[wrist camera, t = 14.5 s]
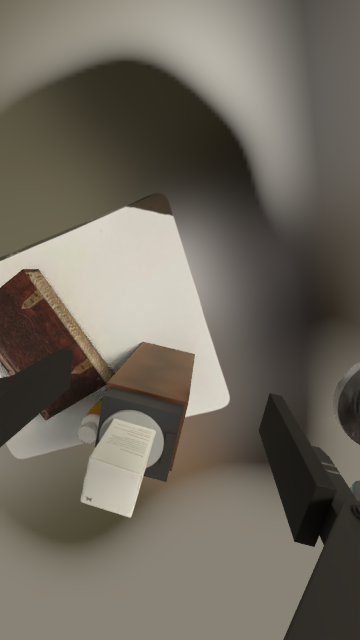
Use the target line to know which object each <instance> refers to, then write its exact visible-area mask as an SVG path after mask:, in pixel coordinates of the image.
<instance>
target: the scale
mask: <svg viewBox="0 0 360 640" xmlns="http://www.w3.org/2000/svg"><path fill="white" fill-rule="evenodd" d="M183 408H184V405H181V404H178V403H174V402H170V401H166V400H162V399H158V398H154V397H150V396H146V395H142V394H138V393H134V392H130V391H126V390H122V389H118V388H114V387H109V389H108V390H107V391H106V392H105V393H104V395H103V399H102V405H101V412H100V418H99V425H98V432H97V438H96V445H95V448H96V446H97V444H98V443H99V441H100V440H101V438H102V437H103V435H104V433H105V432H106V430H107V429H108V427H109V425H110V424H111V422H112V420H113V419H114V418H115V419H119V420H122V421H126V422H129V423H132V424H135V425H139V426H142V427H146V428H149V429H153V430H155V431H156V434H155V437H154V440H153V443H152V447H151V450H150V454H149V457H148V461H147V465H146V469H145V472H144V475H143V476H146V477H150V478H154V479H157V480H161V481H165V482H166V481H167V476H168V473H169V469H170V464H171V460H172V456H173V452H174V448H175V444H176V440H177V435H178V431H179V427H180V423H181V419H182V414H183Z"/></svg>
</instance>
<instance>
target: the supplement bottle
mask: <svg viewBox="0 0 360 640" xmlns="http://www.w3.org/2000/svg"><path fill="white" fill-rule="evenodd" d="M101 405H102V400H99V401H98V402H97V403H96V404H95V405H94V406H93V407H92V409H91V410H90V411H89V412H88V414H87V415H86V416H85V417H84V419H83V420H82V423H81V427H80V429H79V430H78V437H79V439H80V440H81V441H82V442H84V443H92V442H94V441H95V439H96V438H97V432H98V425H99V418H100V412H101Z"/></svg>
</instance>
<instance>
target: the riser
mask: <svg viewBox="0 0 360 640" xmlns="http://www.w3.org/2000/svg"><path fill="white" fill-rule="evenodd" d="M194 357H195V354H192V353H187V352H183V351H179V350H175V349H171V348H166V347H162V346H158V345H154V344H150V343H146V342H142V344H141V345H140V346H139V347H138V348H137V349H136V350H135V352H134V353H133V354H132V355H131V356H130V357H129V358H128V360H127V361H126V362H125V363H124V364H123V365H122V367H121V368H120V369H119V370H118V371H117V372H116V373H115V375H114V376H113V377H112V378H111V379H110V380H109V381H108V383H107V389H106V391H107V390H108V389H109V387H114V388H118V389H122V390H126V391H130V392H134V393H138V394H142V395H146V396H150V397H154V398H158V399H162V400H166V401H170V402H174V403H178V404H181V405H184V408H183V414H182V419H181V423H180V427H179V431H178V435H177V440H176V444H175V448H174V452H173V456H172V460H171V464H170V469H169V471H172V467H173V463H174V459H175V455H176V451H177V447H178V443H179V438H180V434H181V430H182V426H183V422H184V418H185V414H186V410H187V406H188V401H189V394H190V386H191V379H192V372H193V365H194Z"/></svg>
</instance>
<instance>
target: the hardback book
mask: <svg viewBox="0 0 360 640" xmlns="http://www.w3.org/2000/svg"><path fill="white" fill-rule="evenodd" d="M61 348H64V349H68V350H73V354H72V365H71V377H70V388H68V389H67V390H66V391H65V392H64V393H63V394H61V395H60V396H59V397H58V398H57V399H56V400H54V401H53V402H52V403H51V404H50V405H49V406H48V407H46V408H45V409H44V410H43V411H42V412H41V413H40V414H41V415H42V416H43V418H44V419H45V420H48V419H49V418H51V417H53V416H54V415H56V414H58V413H59V412H61V411H63V410H64V409H66V408H68V407H69V406H71V405H73V404H75V403H76V402H78V401H80V400H81V399H83V398H85V397H86V396H88V395H90V394H91V393H93V392H95V391H96V390H98V389H100V388H101V387H103V386H105V385H106V384H107V383H108V381H109V380H110V379H111V378H112V377H113V376H114V374H113V373H112V371H111V370H110V369H109V367H108V366H107V364H106V363H105V362H104V360H103V359H102V357H101V356H100V355H99V353H98V352H97V350H96V349H95V348H94V346H93V345H92V343H91V342H90V341H89V339H88V338H87V336H86V335H85V334H84V332H83V331H82V329H81V328H80V327H79V325H78V324H77V322H76V321H75V320H74V318H73V317H72V315H71V314H70V313H69V311H68V310H67V309H66V307H65V306H64V304H63V303H62V302H61V300H60V299H59V297H58V296H57V295H56V293H55V292H54V290H53V289H52V288H51V286H50V285H49V283H48V282H47V281H46V279H45V278H44V276H43V275H42V274H41V272H40V271H39V269H23V270H21V271H20V272H19V273H18V274H17V275H15V276H14V277H13V278H12V279H10V280H9V281H8V282H7V283H5V284H4V285H3V286H2V287H1V288H0V362H1V364H2V365H3V366H4V368H5V369H6V370H7V371H8V373H9V374H10V375H11V376H12V375H14V374H15V373H17V372H19V371H21V370H23V369H25V368H26V367H28V366H30V365H32V364H34V363H36V362H37V361H39V360H41V359H43V358H45V357H47V356H48V355H50V354H52V353H54V352H56V351H58V350H59V349H61Z"/></svg>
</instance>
